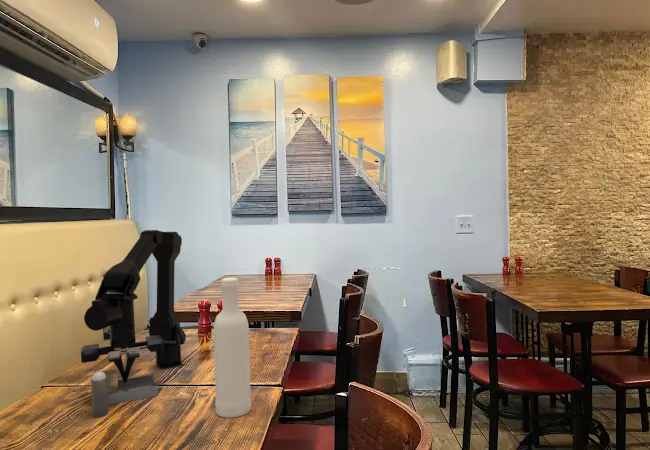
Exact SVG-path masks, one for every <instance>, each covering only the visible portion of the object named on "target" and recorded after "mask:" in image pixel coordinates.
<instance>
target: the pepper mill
mask: <svg viewBox="0 0 650 450" xmlns="http://www.w3.org/2000/svg"><path fill="white" fill-rule="evenodd" d="M98 371H99V372H96V373H95V372H94V374H92V377H91V380H90V383H91V387H90V388H91V405H92V406H91V407H92V408H91V410H92V417H93V418H102V417H105V416H107V415H108V414H109V405H108V391H107V377H106V375H105V373H104V372H101V371H102V370H98Z"/></svg>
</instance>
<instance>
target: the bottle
mask: <svg viewBox="0 0 650 450" xmlns="http://www.w3.org/2000/svg"><path fill="white" fill-rule="evenodd" d="M220 285H221V287H220V288H221V296H222V297H221V300H222V310H221V311H220V312H219V313H218V314H217V315H216V317H215V320H214V323H213V346H214V347H213V349H214V350H213V352H214V380H215V381H214V383H215V384H214V386H215V391H214V392H215V401H214V402H215V405H214V406H215V414H217V416H220V417H222V418H237V417H242V416H244V415H246V414H248V413H249V412H250V411H251V410H252V406H251V404H252V398H251V397H252V394H251V370H250V367H251V366H250V335H249V334H250V331H249V329H250V328H249V321H248V318H247V316H246V313H244V312H243V311H242V310H241V309H240V306H239V304H240V302H239V301H240V300H239V299H240V298H239V286H240V284H239V278H237V277H224V278H222V279H221V283H220Z"/></svg>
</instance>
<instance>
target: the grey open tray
mask: <svg viewBox="0 0 650 450" xmlns="http://www.w3.org/2000/svg"><path fill="white" fill-rule="evenodd" d="M99 371H100V370H95V371H94V374H95V373H96V372H99ZM156 396H158V397H159V384H156V382H155V373H148V374H142V375H134V376H130V377H129V376H128V379H127V382H126V383H124V381H123V379H122V378H118V391H116V392H110V393H108V406H109V405H113V404H119V403H120V404H121V403H125V402H129V401H130V402H131V401H135V400H136V401H137V400H142V399H147V398H151V397H152V398H153V397H156Z"/></svg>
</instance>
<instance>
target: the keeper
mask: <svg viewBox="0 0 650 450" xmlns="http://www.w3.org/2000/svg"><path fill="white" fill-rule="evenodd" d="M100 371H101V372H104V373H105V375H106V377H107V391H108V393H110V392H116V391H118V379H119V378H118V368H112V369H107V370H100Z"/></svg>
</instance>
